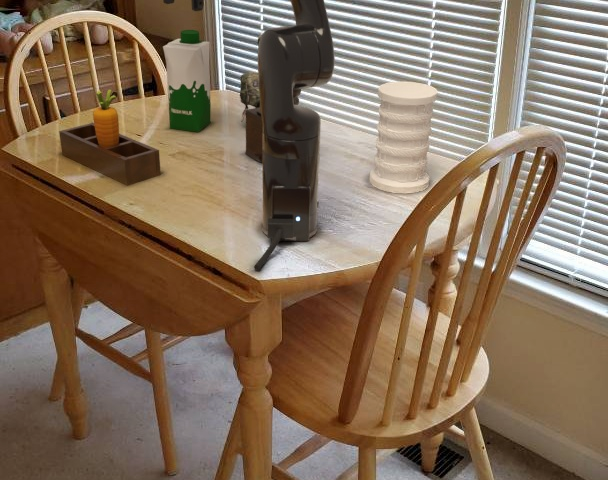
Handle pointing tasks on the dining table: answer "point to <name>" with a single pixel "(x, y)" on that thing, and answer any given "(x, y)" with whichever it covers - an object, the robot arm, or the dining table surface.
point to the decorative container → (403, 137)
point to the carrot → (106, 121)
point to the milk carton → (188, 82)
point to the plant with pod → (250, 89)
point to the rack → (111, 155)
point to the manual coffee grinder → (258, 130)
